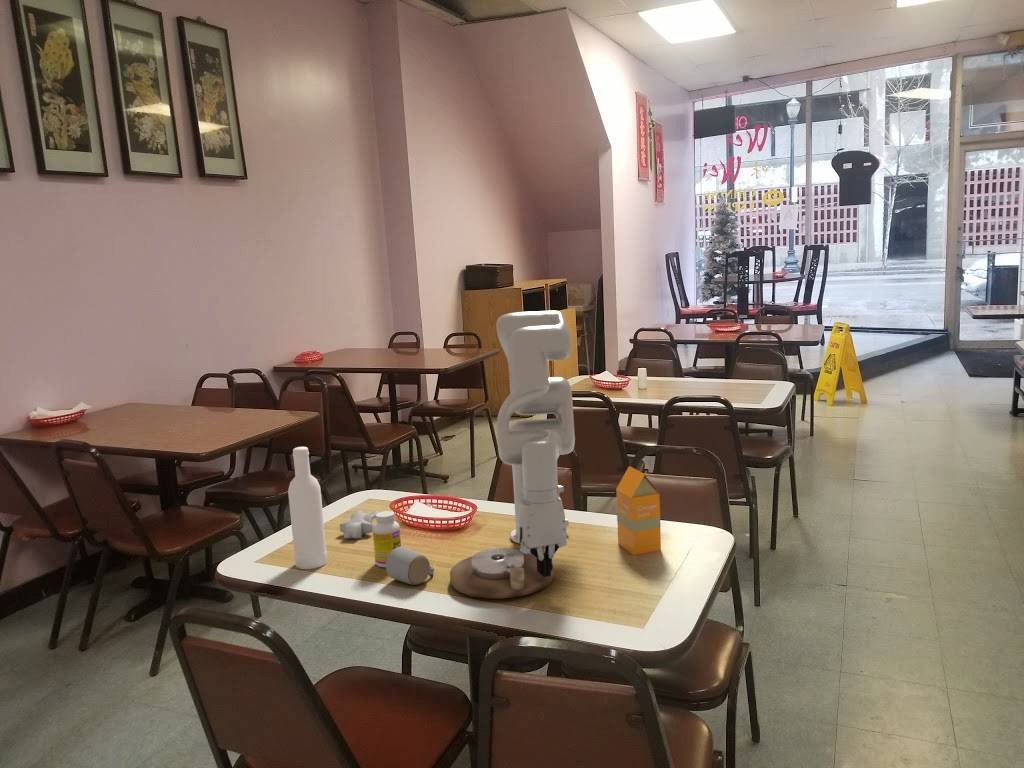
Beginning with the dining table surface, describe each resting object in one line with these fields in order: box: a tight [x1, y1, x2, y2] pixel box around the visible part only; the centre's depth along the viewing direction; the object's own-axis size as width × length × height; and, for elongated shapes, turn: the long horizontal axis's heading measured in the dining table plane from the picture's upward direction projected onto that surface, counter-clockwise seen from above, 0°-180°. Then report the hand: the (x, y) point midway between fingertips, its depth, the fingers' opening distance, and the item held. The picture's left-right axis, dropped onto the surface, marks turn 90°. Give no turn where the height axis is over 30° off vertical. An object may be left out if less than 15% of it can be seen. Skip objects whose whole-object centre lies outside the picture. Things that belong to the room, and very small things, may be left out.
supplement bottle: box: [372, 510, 402, 568], centre depth 192 cm, size 7×7×13 cm
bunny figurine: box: [339, 509, 381, 539], centre depth 218 cm, size 10×5×15 cm
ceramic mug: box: [385, 546, 435, 586], centre depth 182 cm, size 11×8×8 cm
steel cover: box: [471, 547, 524, 580], centre depth 179 cm, size 12×12×3 cm
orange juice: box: [615, 465, 662, 556], centre depth 194 cm, size 8×9×20 cm
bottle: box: [287, 446, 328, 570], centre depth 193 cm, size 8×8×30 cm
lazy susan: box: [449, 550, 555, 600], centre depth 178 cm, size 24×24×6 cm
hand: (544, 574), depth 171 cm, fingers closed
